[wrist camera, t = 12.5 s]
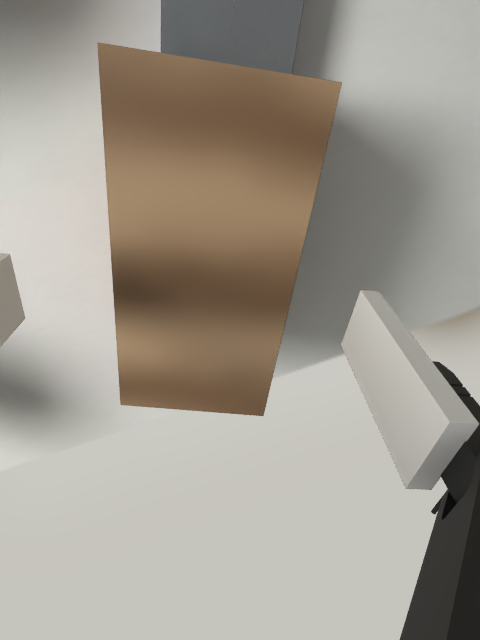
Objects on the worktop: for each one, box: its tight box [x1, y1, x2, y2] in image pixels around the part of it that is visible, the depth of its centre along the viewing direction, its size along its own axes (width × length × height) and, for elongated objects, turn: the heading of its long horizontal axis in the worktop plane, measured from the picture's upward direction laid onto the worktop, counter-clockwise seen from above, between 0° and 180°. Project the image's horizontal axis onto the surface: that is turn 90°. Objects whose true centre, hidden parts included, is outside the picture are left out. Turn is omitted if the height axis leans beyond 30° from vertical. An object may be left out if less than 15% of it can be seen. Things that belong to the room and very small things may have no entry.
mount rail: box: [161, 0, 304, 74], centre depth 20 cm, size 22×6×5 cm, turn 173°
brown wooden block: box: [98, 43, 342, 416], centre depth 19 cm, size 16×8×7 cm, turn 173°
